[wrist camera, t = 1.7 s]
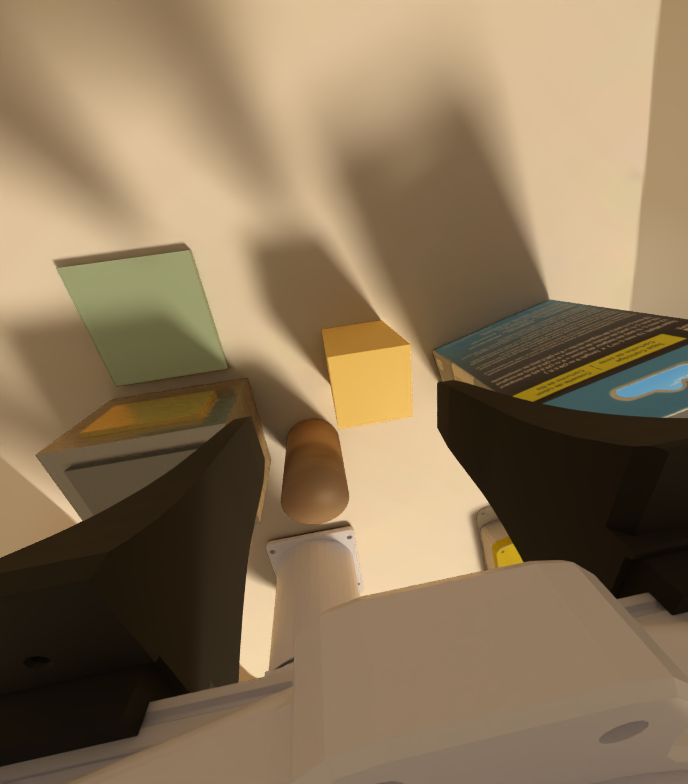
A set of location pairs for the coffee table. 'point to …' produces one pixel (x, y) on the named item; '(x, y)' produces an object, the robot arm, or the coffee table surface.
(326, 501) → the walnut cylinder
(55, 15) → the coffee table surface
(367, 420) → the ochre block
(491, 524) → the emergency button
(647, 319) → the label tape box
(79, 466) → the box
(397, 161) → the coffee table surface
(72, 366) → the coffee table surface
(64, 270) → the pad
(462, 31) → the coffee table surface
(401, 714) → the robot arm
